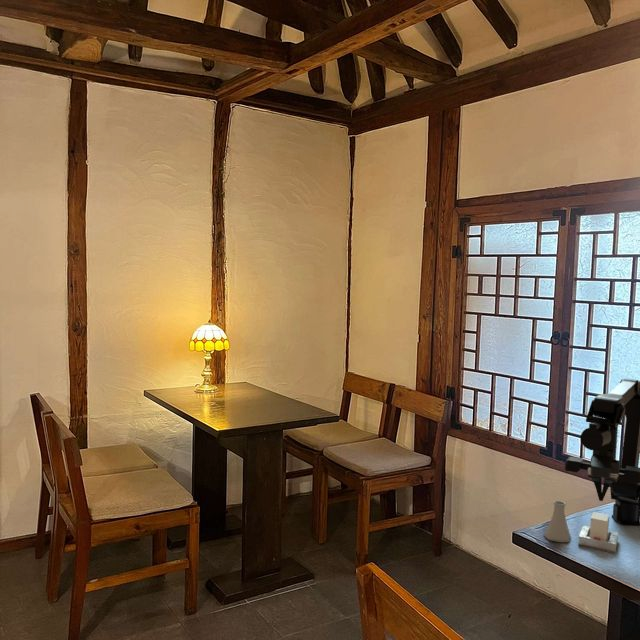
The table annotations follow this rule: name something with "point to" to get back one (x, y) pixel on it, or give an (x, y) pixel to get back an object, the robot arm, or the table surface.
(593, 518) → the plug
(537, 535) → the table surface
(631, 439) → the robot arm
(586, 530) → the socket
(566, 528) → the flask
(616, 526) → the table surface
